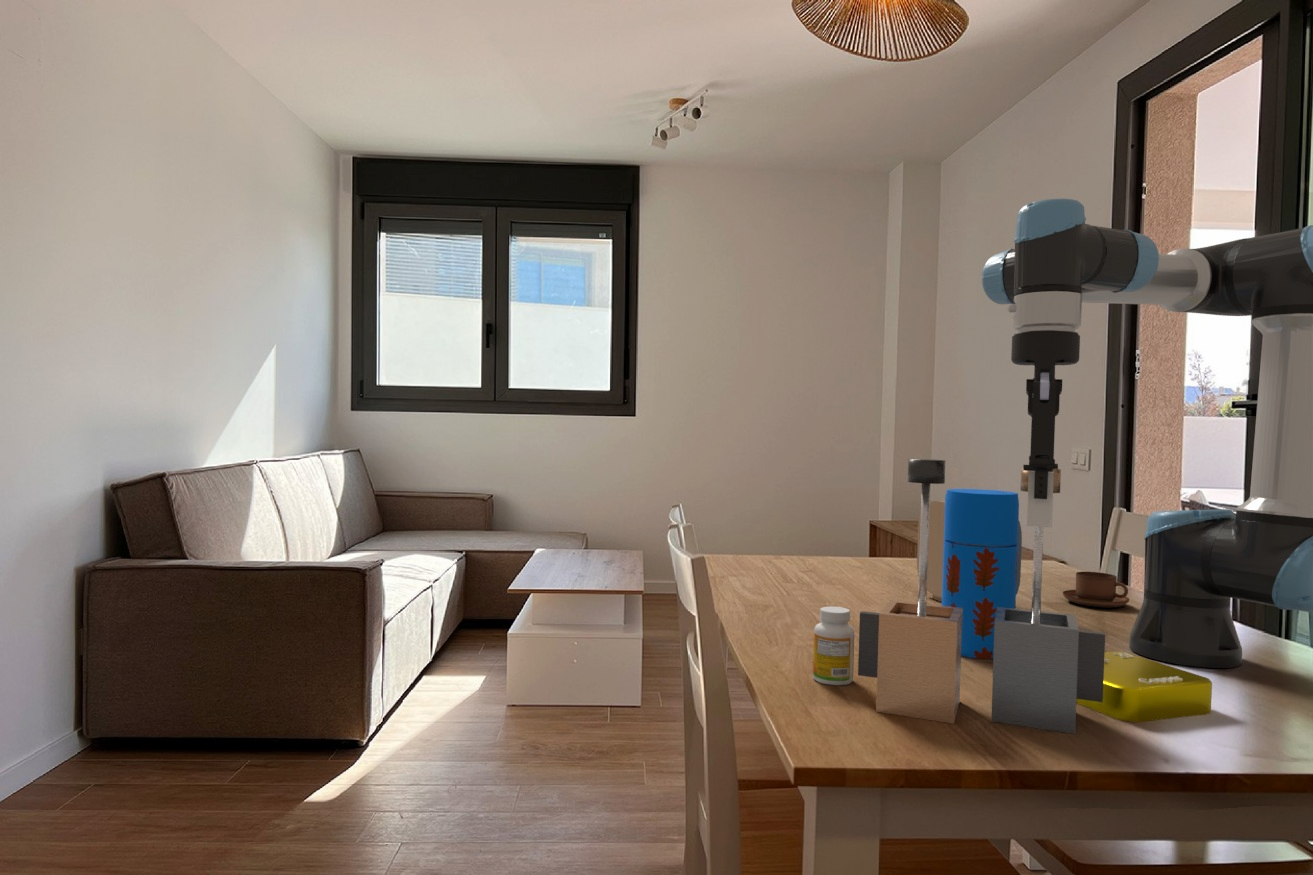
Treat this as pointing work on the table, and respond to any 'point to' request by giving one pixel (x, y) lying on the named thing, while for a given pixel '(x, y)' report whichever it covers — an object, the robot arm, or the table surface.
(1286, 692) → the table surface
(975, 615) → the thermos
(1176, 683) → the element tile
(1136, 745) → the table surface
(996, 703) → the grey box
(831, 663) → the supplement bottle
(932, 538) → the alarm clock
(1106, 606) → the cup and saucer
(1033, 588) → the tan and silver rod
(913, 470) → the grey capped rod
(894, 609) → the light wood box
